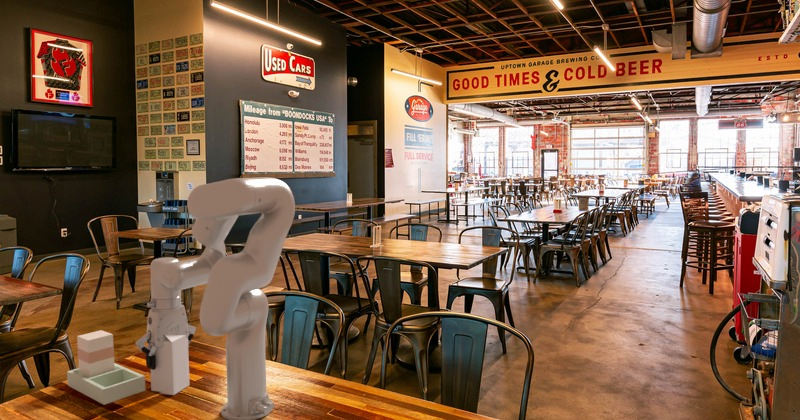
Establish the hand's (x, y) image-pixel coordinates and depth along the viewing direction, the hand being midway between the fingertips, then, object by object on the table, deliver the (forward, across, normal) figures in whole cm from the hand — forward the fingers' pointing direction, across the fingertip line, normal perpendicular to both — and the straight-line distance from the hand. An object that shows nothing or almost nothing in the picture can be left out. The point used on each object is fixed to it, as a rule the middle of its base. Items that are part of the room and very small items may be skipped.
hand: (167, 363), depth 149 cm
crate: (+8, -11, +13) cm, 19 cm away
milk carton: (+8, 0, -1) cm, 8 cm away
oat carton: (+7, -11, +18) cm, 22 cm away
